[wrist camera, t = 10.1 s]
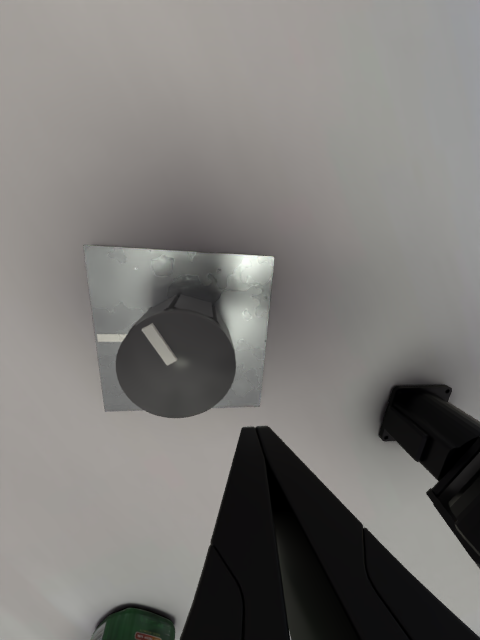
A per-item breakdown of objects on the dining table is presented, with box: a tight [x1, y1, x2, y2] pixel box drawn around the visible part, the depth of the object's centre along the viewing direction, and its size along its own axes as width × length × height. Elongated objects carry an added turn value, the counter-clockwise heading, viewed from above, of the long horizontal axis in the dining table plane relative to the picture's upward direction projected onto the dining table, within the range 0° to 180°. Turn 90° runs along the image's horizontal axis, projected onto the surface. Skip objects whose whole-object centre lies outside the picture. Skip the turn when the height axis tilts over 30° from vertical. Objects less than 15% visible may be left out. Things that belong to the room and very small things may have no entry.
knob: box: [116, 294, 236, 418], centre depth 15 cm, size 7×7×5 cm
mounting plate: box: [83, 245, 274, 412], centre depth 16 cm, size 13×13×5 cm
